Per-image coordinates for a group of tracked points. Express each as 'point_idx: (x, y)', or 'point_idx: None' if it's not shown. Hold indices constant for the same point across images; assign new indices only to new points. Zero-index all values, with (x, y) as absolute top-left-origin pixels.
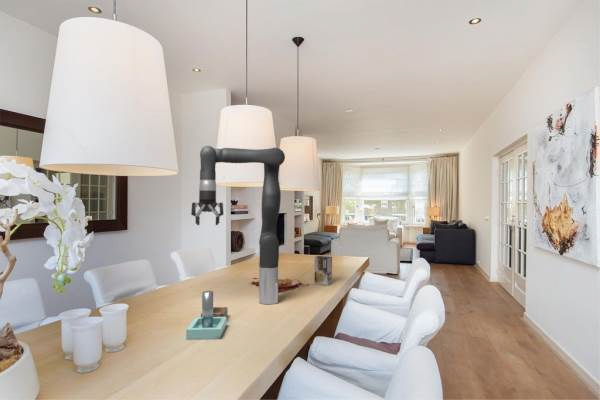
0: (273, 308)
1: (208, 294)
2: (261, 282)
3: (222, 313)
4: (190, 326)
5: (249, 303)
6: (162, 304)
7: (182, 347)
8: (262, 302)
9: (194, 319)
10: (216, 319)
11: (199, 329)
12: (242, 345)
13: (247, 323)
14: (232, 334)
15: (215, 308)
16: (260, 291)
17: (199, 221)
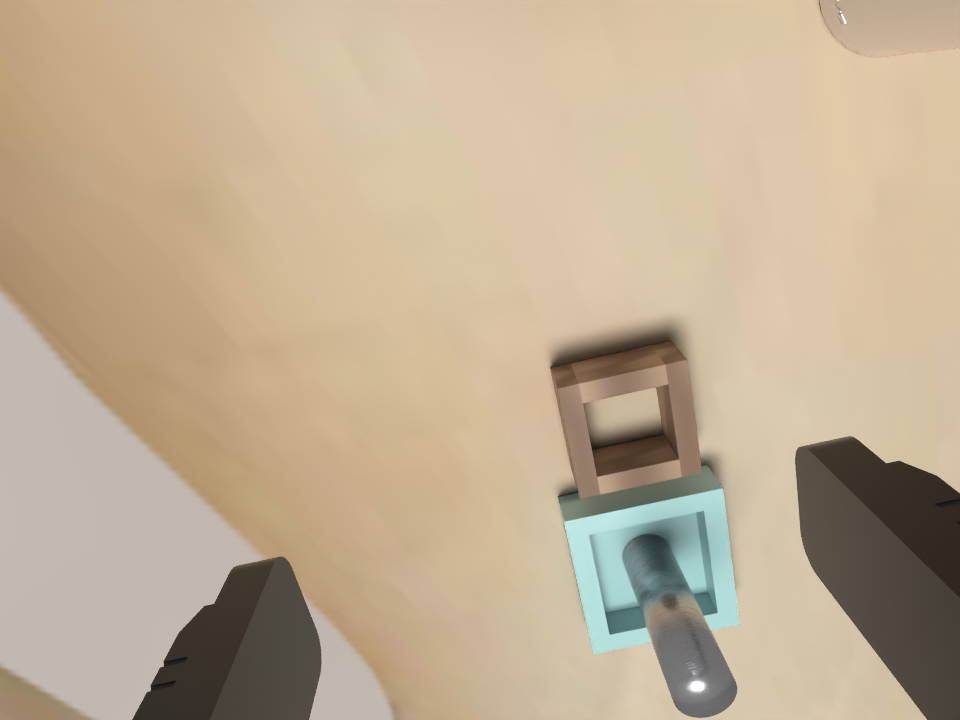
0: (935, 135)
1: (716, 707)
2: (949, 27)
3: (693, 467)
4: (595, 623)
5: (749, 51)
6: (143, 209)
7: (605, 677)
8: (856, 50)
9: (572, 550)
10: (675, 513)
11: (649, 642)
12: (826, 625)
13: (805, 416)
14: (762, 546)
15: (621, 394)
16: (886, 27)
17: (257, 623)
